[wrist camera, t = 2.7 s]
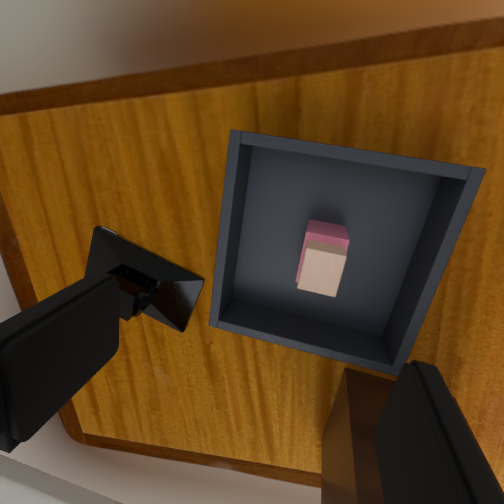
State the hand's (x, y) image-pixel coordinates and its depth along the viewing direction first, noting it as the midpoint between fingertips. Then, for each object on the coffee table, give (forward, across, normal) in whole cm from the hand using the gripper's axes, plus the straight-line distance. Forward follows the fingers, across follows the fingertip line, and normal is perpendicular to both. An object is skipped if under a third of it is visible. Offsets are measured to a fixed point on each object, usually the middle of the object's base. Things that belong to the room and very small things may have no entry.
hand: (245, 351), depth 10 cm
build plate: (+18, +14, +10) cm, 25 cm away
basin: (+18, -3, +1) cm, 18 cm away
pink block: (+17, -3, +1) cm, 17 cm away
